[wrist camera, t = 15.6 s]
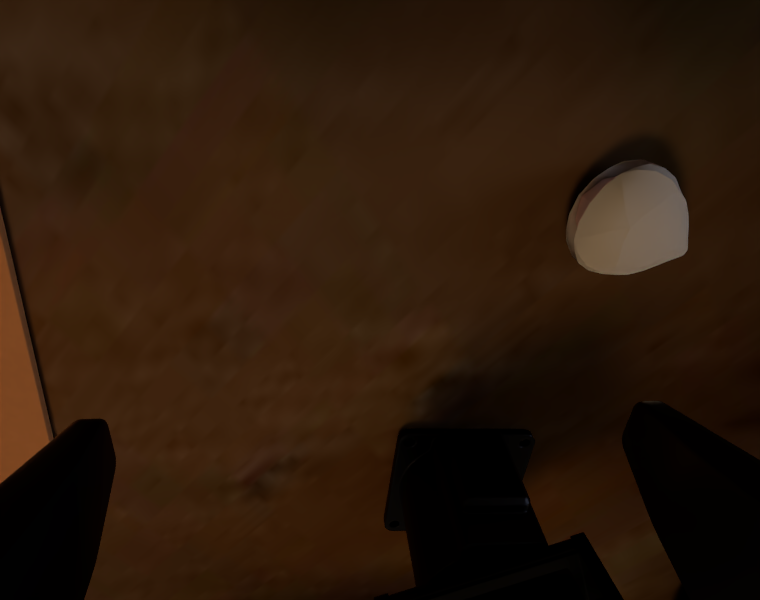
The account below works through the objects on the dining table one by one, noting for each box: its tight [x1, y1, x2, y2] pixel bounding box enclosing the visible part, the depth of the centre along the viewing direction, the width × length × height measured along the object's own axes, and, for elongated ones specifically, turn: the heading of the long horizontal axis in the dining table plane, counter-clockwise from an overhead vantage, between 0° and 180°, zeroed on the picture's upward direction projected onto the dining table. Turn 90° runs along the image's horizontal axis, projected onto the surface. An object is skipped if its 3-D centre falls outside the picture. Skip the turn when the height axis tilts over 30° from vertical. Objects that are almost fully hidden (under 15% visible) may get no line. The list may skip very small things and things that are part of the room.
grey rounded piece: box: [566, 159, 689, 275], centre depth 20 cm, size 4×5×2 cm
